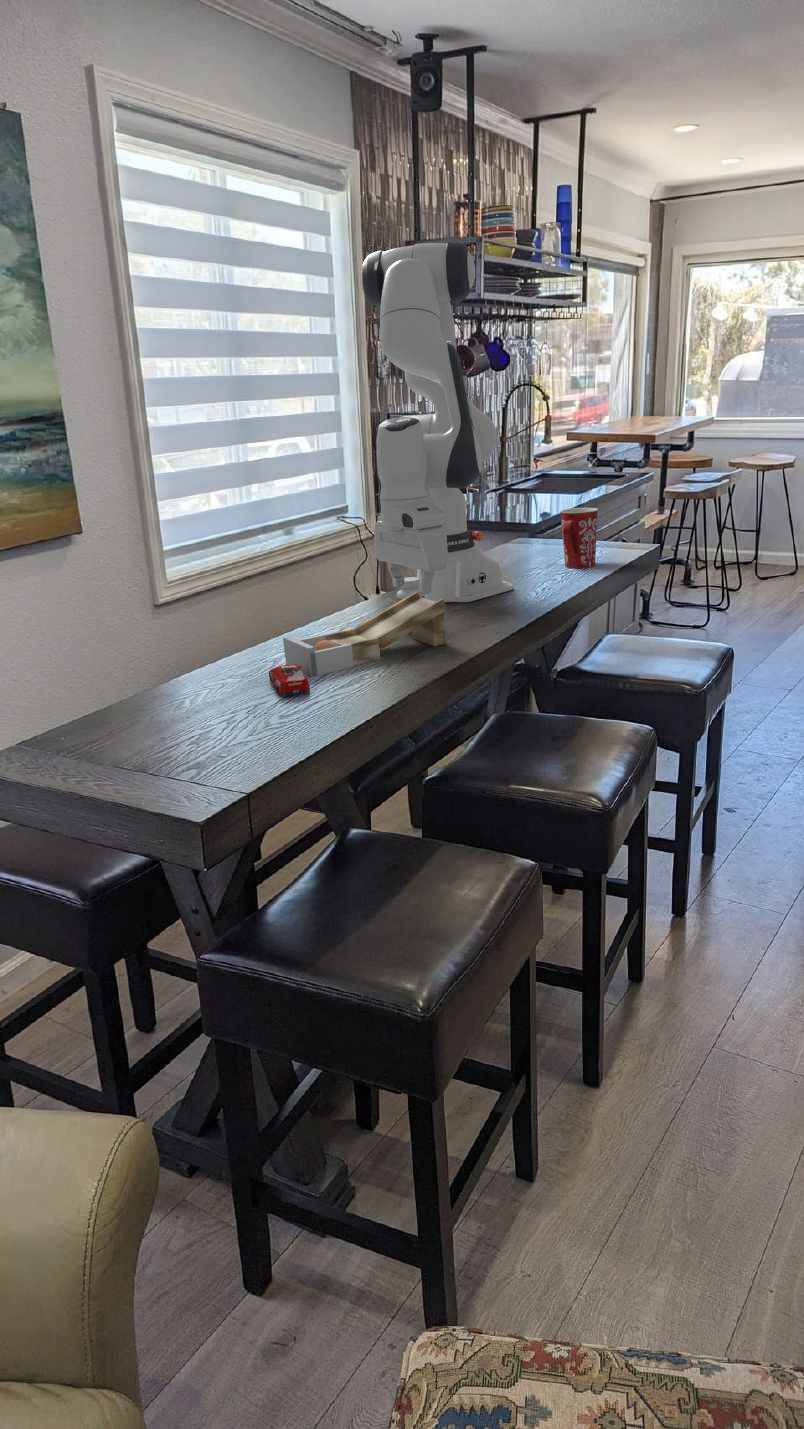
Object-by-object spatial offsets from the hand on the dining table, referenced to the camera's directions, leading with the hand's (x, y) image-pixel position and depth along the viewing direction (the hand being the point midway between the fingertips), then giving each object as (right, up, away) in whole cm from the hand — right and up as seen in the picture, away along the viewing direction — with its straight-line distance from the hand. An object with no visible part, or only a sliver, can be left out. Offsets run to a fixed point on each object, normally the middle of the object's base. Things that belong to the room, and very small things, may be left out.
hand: (411, 590), depth 179 cm
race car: (-20, -18, -16) cm, 32 cm away
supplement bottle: (0, -6, +15) cm, 16 cm away
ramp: (-4, -11, +1) cm, 12 cm away
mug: (+41, +13, +60) cm, 74 cm away
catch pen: (-16, -14, -6) cm, 22 cm away
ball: (-15, -12, -6) cm, 20 cm away
